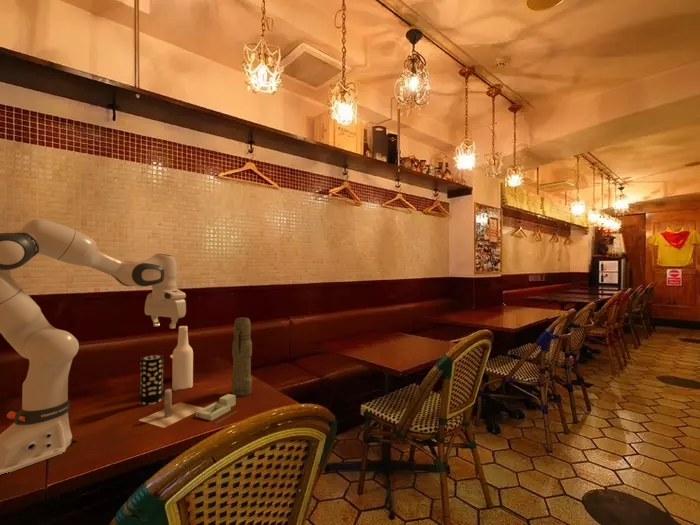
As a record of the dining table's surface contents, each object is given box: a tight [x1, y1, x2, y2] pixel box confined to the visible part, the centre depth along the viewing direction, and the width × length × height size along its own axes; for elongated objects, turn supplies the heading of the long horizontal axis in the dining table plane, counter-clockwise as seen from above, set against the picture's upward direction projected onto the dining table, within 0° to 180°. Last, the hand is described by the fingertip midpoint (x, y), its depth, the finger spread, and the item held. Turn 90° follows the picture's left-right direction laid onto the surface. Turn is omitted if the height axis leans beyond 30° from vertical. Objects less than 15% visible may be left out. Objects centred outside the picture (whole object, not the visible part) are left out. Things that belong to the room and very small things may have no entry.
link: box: [195, 393, 237, 422], centre depth 135 cm, size 15×8×5 cm, turn 156°
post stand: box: [138, 388, 204, 429], centre depth 132 cm, size 18×14×12 cm
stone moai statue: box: [231, 316, 253, 398], centre depth 158 cm, size 9×12×35 cm
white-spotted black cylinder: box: [139, 354, 164, 406], centre depth 144 cm, size 8×8×20 cm
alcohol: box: [171, 325, 194, 392], centre depth 162 cm, size 9×9×30 cm
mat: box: [212, 409, 238, 425], centre depth 135 cm, size 12×10×1 cm
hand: (164, 327), depth 138 cm, fingers open, 8 cm apart
